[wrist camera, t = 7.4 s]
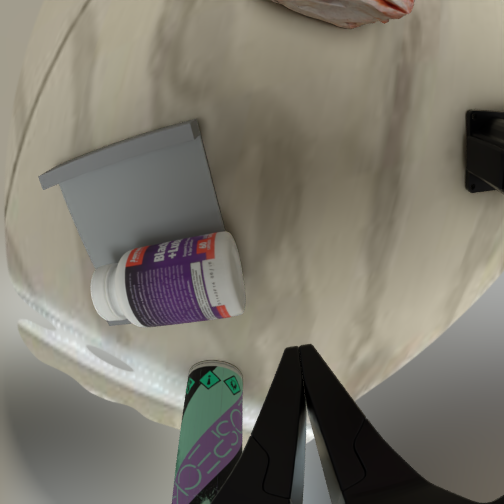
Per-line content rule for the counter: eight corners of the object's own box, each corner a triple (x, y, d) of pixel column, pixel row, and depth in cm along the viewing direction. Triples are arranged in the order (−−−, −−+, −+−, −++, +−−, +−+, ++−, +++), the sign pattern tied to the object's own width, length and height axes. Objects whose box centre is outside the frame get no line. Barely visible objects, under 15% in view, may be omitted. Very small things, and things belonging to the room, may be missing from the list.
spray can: (252, 381, 30) (257, 570, 13) (211, 395, 31) (201, 567, 14) (220, 353, 28) (209, 571, 10) (177, 370, 29) (151, 562, 12)
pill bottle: (223, 228, 17) (77, 259, 17) (241, 325, 17) (95, 341, 18) (235, 230, 22) (115, 254, 23) (249, 303, 22) (129, 320, 23)
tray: (196, 118, 17) (189, 122, 15) (241, 289, 24) (240, 309, 22) (55, 166, 18) (38, 176, 16) (117, 307, 25) (109, 325, 23)
